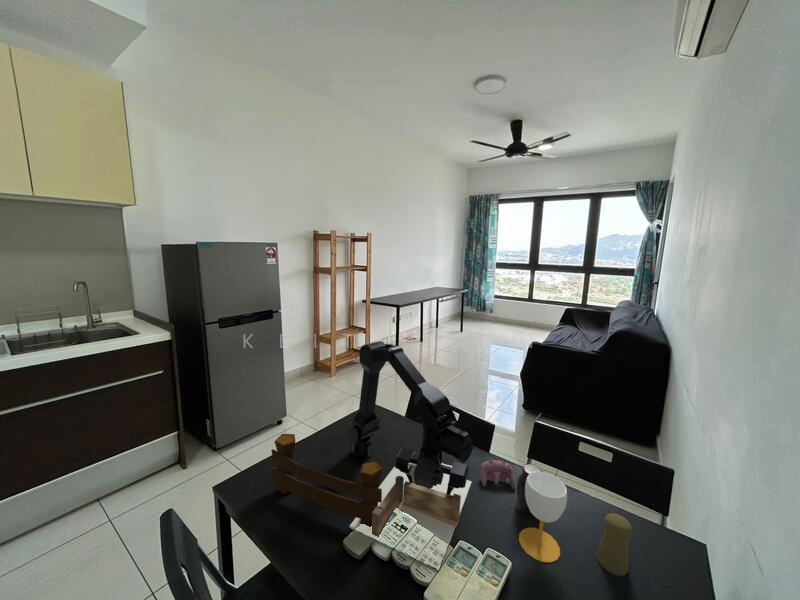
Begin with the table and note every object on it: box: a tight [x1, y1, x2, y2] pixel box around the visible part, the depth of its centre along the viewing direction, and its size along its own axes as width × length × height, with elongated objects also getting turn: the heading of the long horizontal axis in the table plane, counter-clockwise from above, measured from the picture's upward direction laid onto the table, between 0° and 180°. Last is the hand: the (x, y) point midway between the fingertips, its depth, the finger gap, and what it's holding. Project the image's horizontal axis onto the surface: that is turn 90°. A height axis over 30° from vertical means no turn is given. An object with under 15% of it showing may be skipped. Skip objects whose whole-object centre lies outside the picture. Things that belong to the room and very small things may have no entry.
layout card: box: [349, 466, 472, 546], centre depth 87 cm, size 23×30×1 cm
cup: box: [518, 471, 568, 564], centre depth 75 cm, size 9×9×16 cm
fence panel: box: [403, 481, 461, 522], centre depth 83 cm, size 15×2×6 cm, turn 69°
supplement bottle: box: [515, 463, 544, 520], centre depth 85 cm, size 7×7×12 cm
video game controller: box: [480, 459, 517, 490], centre depth 96 cm, size 10×5×7 cm, turn 85°
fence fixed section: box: [372, 476, 404, 537], centre depth 81 cm, size 2×14×6 cm, turn 155°
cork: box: [595, 512, 633, 577], centre depth 71 cm, size 6×6×11 cm
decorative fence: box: [271, 433, 384, 527], centre depth 84 cm, size 34×6×15 cm, turn 67°
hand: (429, 494), depth 86 cm, fingers open, 9 cm apart
